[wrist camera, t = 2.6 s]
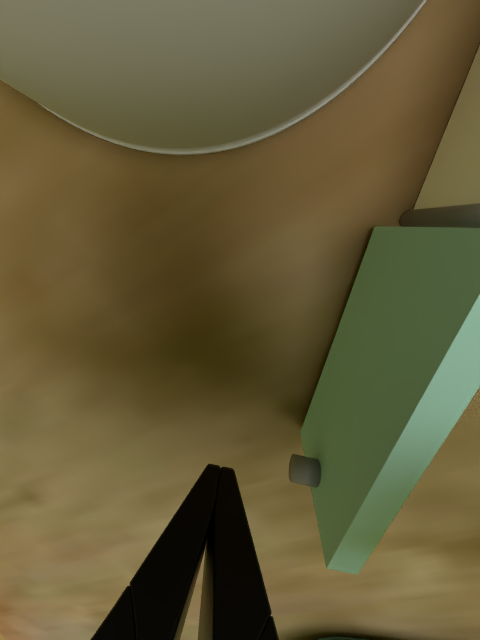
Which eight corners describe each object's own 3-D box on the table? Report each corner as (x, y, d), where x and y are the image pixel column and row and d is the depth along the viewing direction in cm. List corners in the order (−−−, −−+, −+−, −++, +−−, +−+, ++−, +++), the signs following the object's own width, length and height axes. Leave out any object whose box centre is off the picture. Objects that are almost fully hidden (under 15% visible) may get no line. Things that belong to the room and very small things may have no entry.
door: (348, 221, 11) (457, 216, 5) (400, 231, 11) (575, 240, 5) (281, 428, 16) (295, 561, 10) (318, 436, 16) (357, 574, 10)
